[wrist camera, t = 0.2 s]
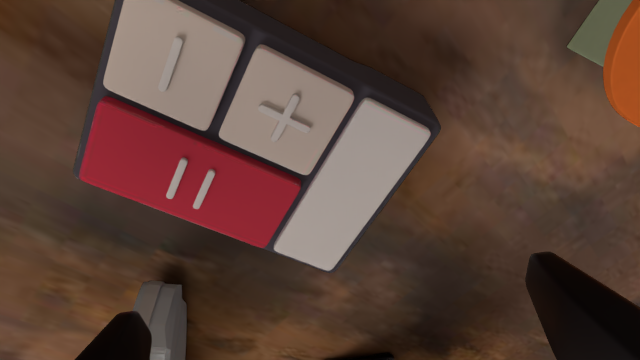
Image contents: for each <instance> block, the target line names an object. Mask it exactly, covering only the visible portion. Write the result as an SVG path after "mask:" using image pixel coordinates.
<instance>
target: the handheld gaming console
mask: <svg viewBox="0 0 640 360" xmlns="http://www.w3.org/2000/svg"><path fill="white" fill-rule="evenodd" d="M133 311H137V312H138V313H139V314H140V315H141V317H142V318H143V320H144V322H145V323H146V325H147V327H148V328H149V330H150V332H151V335H152V345H151V353H150V360H185V355H186V332H187V306H186V303H185V302H184V300H183V299H182V285H176V284H165V283H164V282H162V281H149V282H144V283H143V284H142V286H141V289H140V291H139V294H138V297H137V299H136V302H135V305H134V308H133Z"/></svg>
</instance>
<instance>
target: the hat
mask: <svg viewBox="0 0 640 360" xmlns="http://www.w3.org/2000/svg"><path fill="white" fill-rule="evenodd" d="M603 81H604V88H605V92H606V95H607V98H608V100H609V102H610V104H611V105H612V107H613V108H614V109H615V110H616V112H617V113H618V114H620V115H621V116H622V117H623V118H625V119H626V120H628V121H629V122H631V123H632V124H634V125H636V126H638V127H640V0H633V1H632V2H631V3H630V5H629V6H628V8H627V9H626V11H625V12H624V14H623V15H622V17H621V19H620V20H619V22H618V24H617V26H616V28H615V30H614V32H613V35H612V37H611V39H610V42H609V45H608V48H607V51H606V55H605V61H604V67H603Z"/></svg>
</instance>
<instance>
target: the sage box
mask: <svg viewBox="0 0 640 360" xmlns="http://www.w3.org/2000/svg"><path fill="white" fill-rule="evenodd" d="M632 1H633V0H599V1H598V2H597V4H596V5H595V7H594V8H593V9H592V11H591V12H590V14H589V15H588V17H587V18H586V20H585V21H584V22H583V24H582V25H581V27H580V28H579V30H578V31H577V32H576V34H575V35H574V37H573V38H572V40H571V41H570V42H569V44H568V45H567V48H569V49H570V50H572V51H574V52H576V53H578V54H580V55H582V56H583V57H585V58H587V59H589V60H591V61H593V62H595V63H597V64H598V65H600V66H602V67H604V61H605V55H606V51H607V48H608V45H609V42H610V39H611V37H612V35H613V32H614V30H615V28H616V26H617V24H618V22H619V20H620V19H621V17H622V15H623V14H624V12H625V11H626V9H627V8H628V6H629V5H630V3H631V2H632Z"/></svg>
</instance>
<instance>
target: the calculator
mask: <svg viewBox="0 0 640 360" xmlns="http://www.w3.org/2000/svg"><path fill="white" fill-rule="evenodd" d="M440 130H441V125H440V123H439V121H438V119H437V117H436V116H435V114H434V113H433V111H432V109H431V108H430V106H429V104H428V103H427V101H426V99H425V98H424V97H423V96H422V95H421V94H419V93H417V92H415V91H413V90H412V89H410V88H408V87H406V86H404V85H402V84H400V83H398V82H397V81H395V80H393V79H391V78H389V77H387V76H385V75H383V74H382V73H380V72H378V71H376V70H374V69H372V68H370V67H367V66H365V65H362V64H359V63H356V62H354V61H352V60H350V59H348V58H346V57H344V56H342V55H340V54H339V53H337V52H335V51H333V50H331V49H329V48H327V47H325V46H324V45H322V44H320V43H318V42H316V41H314V40H312V39H310V38H309V37H307V36H305V35H303V34H301V33H299V32H297V31H295V30H294V29H292V28H290V27H288V26H286V25H284V24H282V23H280V22H279V21H277V20H275V19H273V18H271V17H269V16H267V15H265V14H264V13H262V12H260V11H258V10H256V9H254V8H252V7H250V6H249V5H247V4H245V3H243V2H241V1H239V0H115V2H114V6H113V10H112V14H111V18H110V23H109V27H108V31H107V35H106V39H105V43H104V47H103V51H102V55H101V59H100V63H99V67H98V71H97V75H96V79H95V83H94V87H93V91H92V95H91V99H90V103H89V107H88V111H87V115H86V119H85V123H84V127H83V131H82V135H81V139H80V144H79V148H78V152H77V156H76V160H75V164H74V168H73V173H74V175H75V176H76V177H77V178H78V179H80V180H82V181H84V182H86V183H88V184H91V185H94V186H96V187H99V188H102V189H104V190H107V191H110V192H112V193H115V194H118V195H120V196H123V197H126V198H128V199H131V200H134V201H136V202H139V203H142V204H144V205H147V206H150V207H152V208H155V209H158V210H160V211H163V212H166V213H168V214H171V215H174V216H176V217H179V218H182V219H185V220H187V221H190V222H193V223H195V224H198V225H201V226H203V227H206V228H209V229H211V230H214V231H217V232H219V233H222V234H225V235H227V236H230V237H233V238H235V239H238V240H241V241H243V242H246V243H249V244H251V245H254V246H257V247H260V248H263V249H266V250H268V251H271V252H274V253H276V254H279V255H282V256H284V257H287V258H290V259H292V260H295V261H298V262H300V263H303V264H306V265H308V266H311V267H314V268H316V269H319V270H322V271H324V272H328V273H332V272H335V271H336V270H337V269H338V268H339V266H340V265H341V264H342V262H343V261H344V260H345V258H346V257H347V256H348V254H349V253H350V252H351V250H352V249H353V248H354V246H355V245H356V244H357V242H358V241H359V240H360V238H361V237H362V236H363V234H364V233H365V231H366V230H367V229H368V227H369V226H370V225H371V223H372V222H373V221H374V219H375V218H376V217H377V215H378V214H379V213H380V211H381V210H382V209H383V207H384V206H385V205H386V203H387V202H388V201H389V199H390V198H391V197H392V195H393V194H394V193H395V191H396V190H397V189H398V187H399V186H400V185H401V183H402V182H403V181H404V179H405V178H406V177H407V175H408V174H409V173H410V171H411V170H412V169H413V167H414V166H415V165H416V163H417V162H418V161H419V159H420V158H421V156H422V155H423V154H424V152H425V151H426V150H427V148H428V147H429V146H430V144H431V143H432V142H433V140H434V139H435V138H436V136H437V135H438V134H439V132H440Z"/></svg>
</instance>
